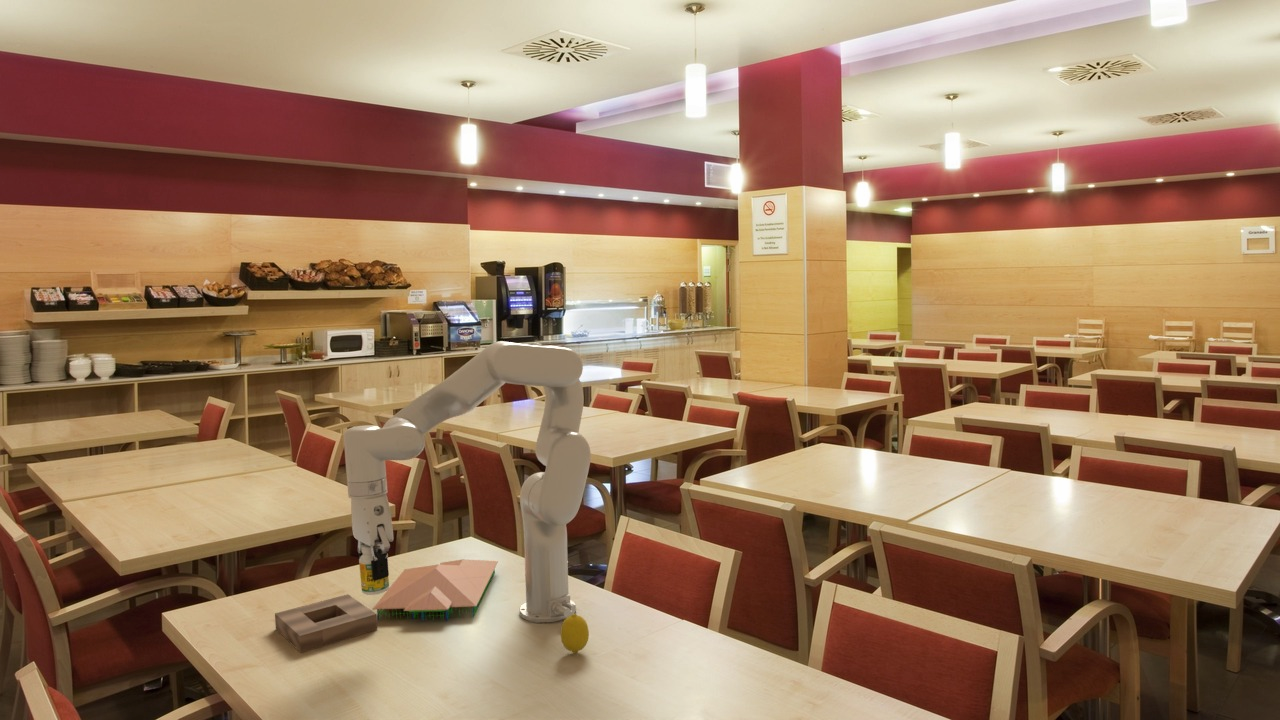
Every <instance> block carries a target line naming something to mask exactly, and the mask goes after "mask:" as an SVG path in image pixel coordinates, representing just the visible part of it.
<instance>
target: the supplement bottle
mask: <svg viewBox="0 0 1280 720" xmlns="http://www.w3.org/2000/svg"><path fill="white" fill-rule="evenodd" d="M374 543H375V544H379V543H380V541H375V542H374ZM375 544H374V545H375ZM361 549H362V553H363V555H362V556H361V557H360V559H359V558H358V563H359V564H358V565H359V574H360V584H361V586H360V587H361V593H363V594H364V595H367V596H368V595H369V596H375V595H380V594H383V593H386V592H387V590H388V589H389V588H390V581H389V579H390V578H389V576H388V577H385V578H382V579H378V580H373V579H372V568H371V561H372V560H373V558H372V553H371V548H370V546H368V545H366V544H364V545H362V546H361ZM375 549H376V553H377V551H378V549H380V547H376V548H375Z"/></svg>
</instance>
